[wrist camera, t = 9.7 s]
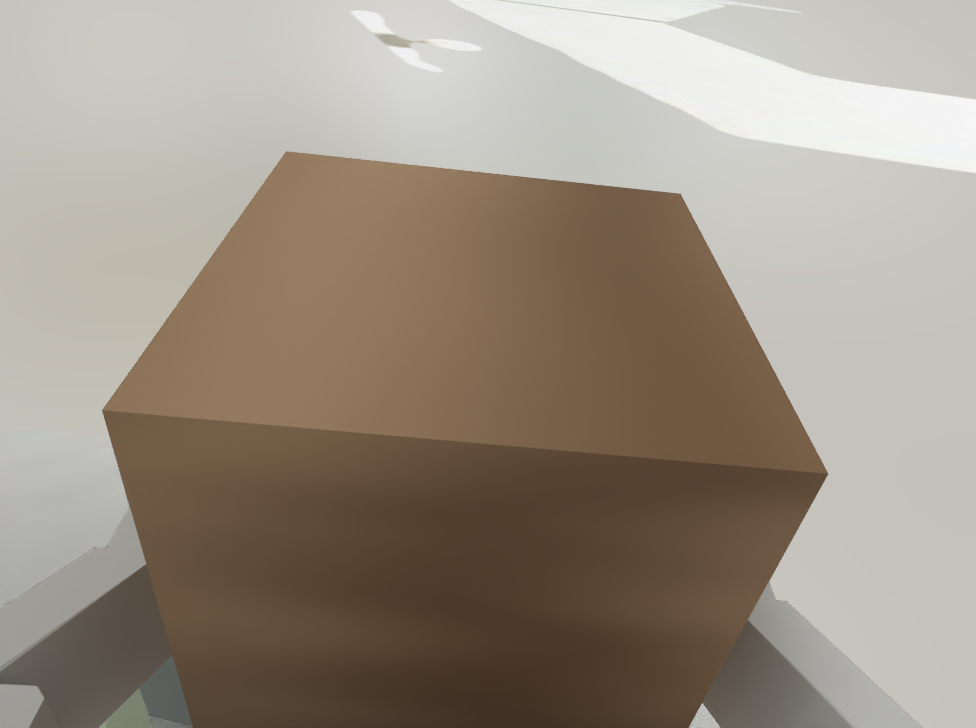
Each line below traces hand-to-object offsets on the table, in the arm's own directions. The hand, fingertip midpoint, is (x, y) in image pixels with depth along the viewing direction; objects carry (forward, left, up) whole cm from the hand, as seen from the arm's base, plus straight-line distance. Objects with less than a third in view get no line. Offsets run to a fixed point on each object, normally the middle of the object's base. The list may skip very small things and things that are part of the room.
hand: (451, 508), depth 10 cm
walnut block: (0, -1, -5) cm, 6 cm away
